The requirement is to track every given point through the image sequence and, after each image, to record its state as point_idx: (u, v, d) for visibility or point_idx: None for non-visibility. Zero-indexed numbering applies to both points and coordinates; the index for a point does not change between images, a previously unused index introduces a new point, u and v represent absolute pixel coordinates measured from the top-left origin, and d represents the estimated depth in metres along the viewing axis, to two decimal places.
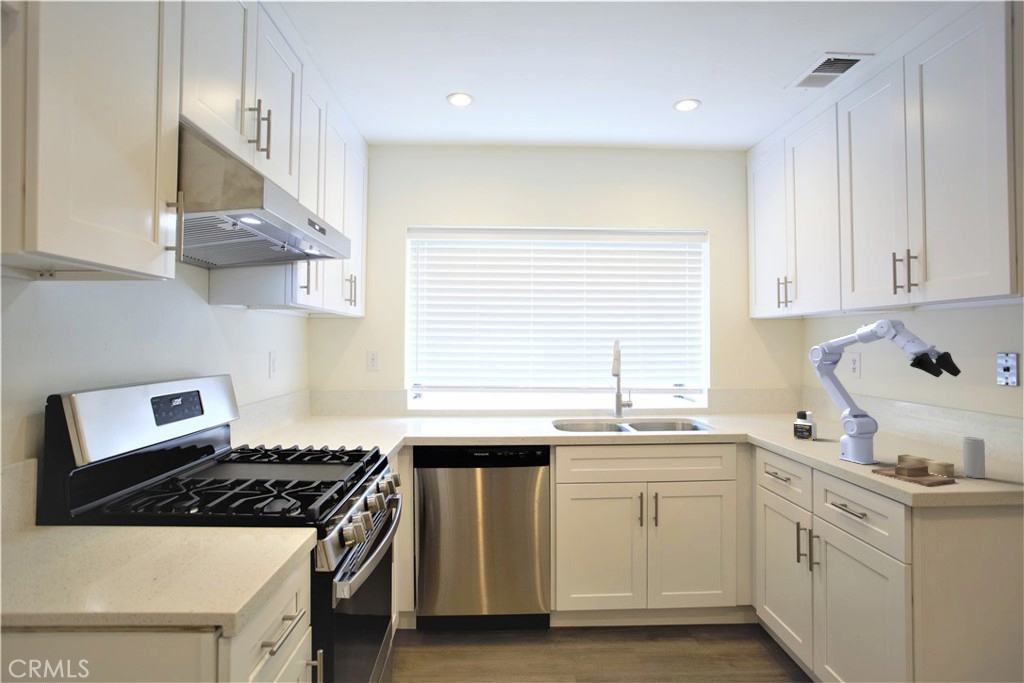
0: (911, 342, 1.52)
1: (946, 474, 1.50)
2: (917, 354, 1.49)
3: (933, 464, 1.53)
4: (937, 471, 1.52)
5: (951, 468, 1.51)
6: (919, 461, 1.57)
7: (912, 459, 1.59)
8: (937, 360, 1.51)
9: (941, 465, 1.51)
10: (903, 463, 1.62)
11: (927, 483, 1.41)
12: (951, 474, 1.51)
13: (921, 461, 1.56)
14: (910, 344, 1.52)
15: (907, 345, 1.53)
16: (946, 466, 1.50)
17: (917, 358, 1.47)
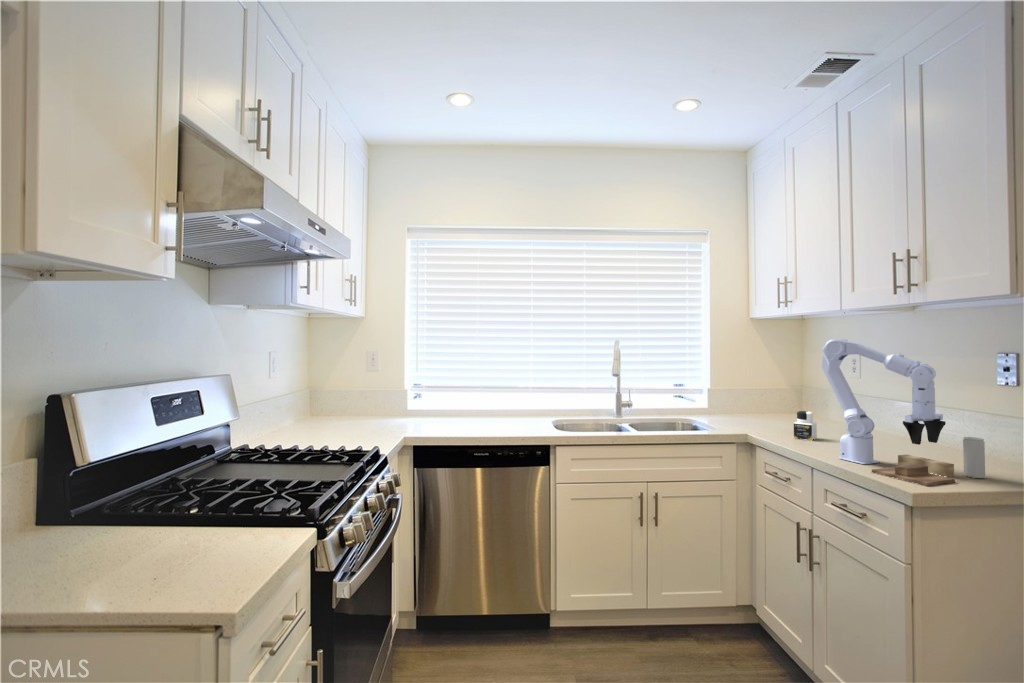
0: (924, 404, 1.55)
1: (946, 474, 1.50)
2: None
3: (933, 464, 1.53)
4: (937, 471, 1.52)
5: (951, 468, 1.51)
6: (919, 461, 1.57)
7: (912, 459, 1.59)
8: (930, 421, 1.59)
9: (941, 465, 1.51)
10: (903, 463, 1.62)
11: (927, 483, 1.41)
12: (951, 474, 1.51)
13: (921, 461, 1.56)
14: (921, 405, 1.56)
15: (918, 403, 1.56)
16: (946, 466, 1.50)
17: (912, 424, 1.55)
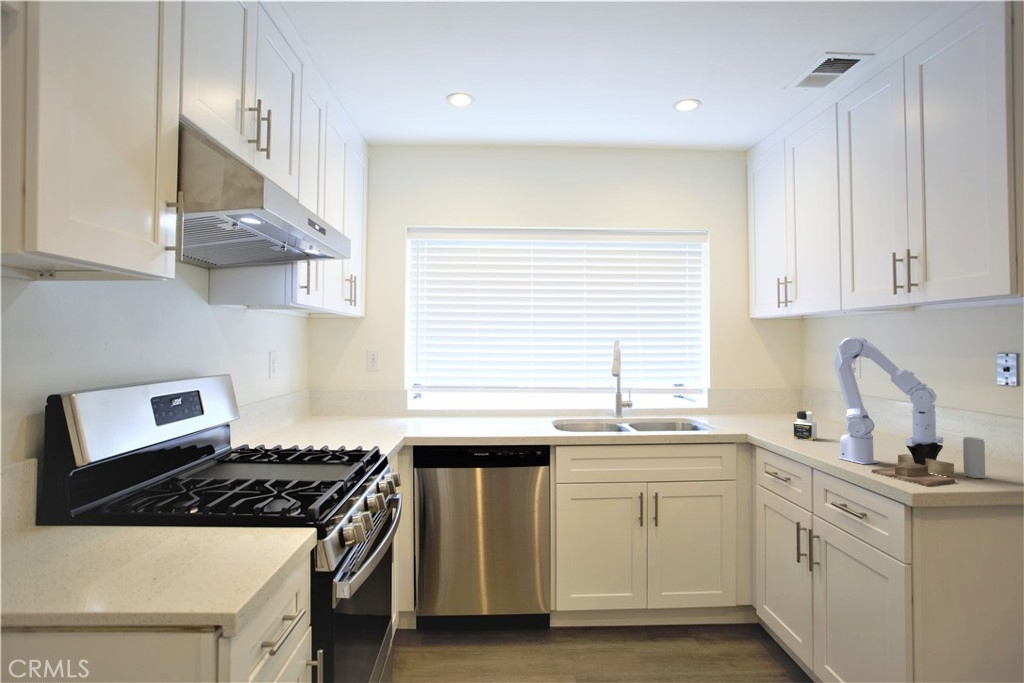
0: (924, 427, 1.55)
1: (946, 474, 1.50)
2: None
3: (933, 464, 1.53)
4: (937, 470, 1.52)
5: (951, 468, 1.51)
6: None
7: (912, 459, 1.59)
8: (927, 445, 1.58)
9: (941, 465, 1.51)
10: (903, 463, 1.62)
11: (927, 483, 1.41)
12: (951, 474, 1.51)
13: None
14: (922, 428, 1.56)
15: (919, 427, 1.56)
16: (946, 466, 1.50)
17: (916, 447, 1.55)
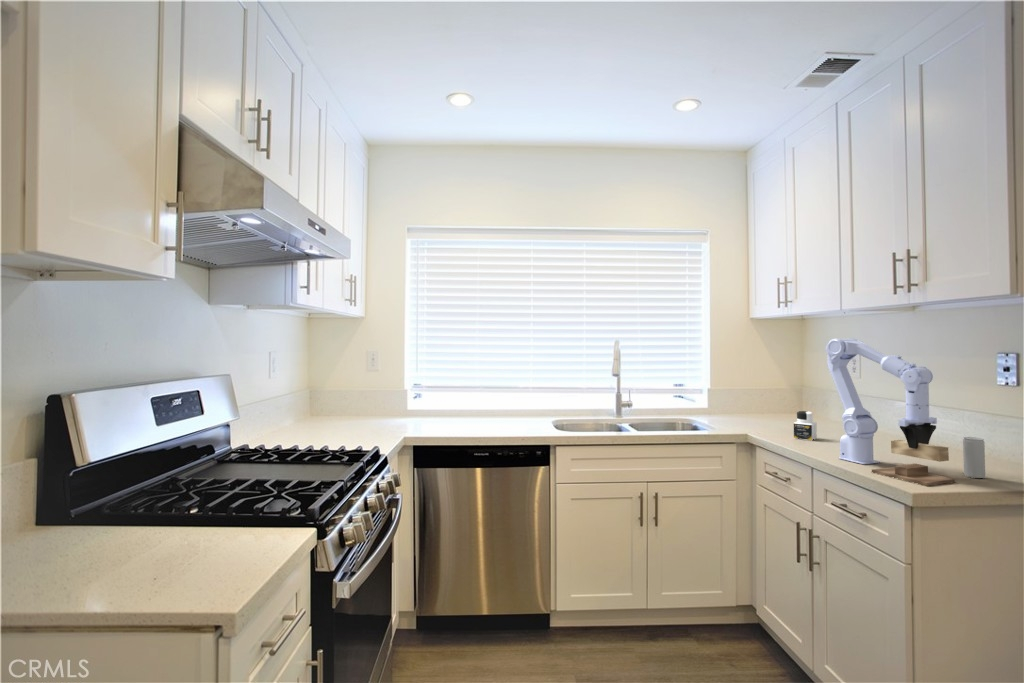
0: (917, 407, 1.52)
1: (941, 458, 1.46)
2: None
3: (927, 448, 1.49)
4: (931, 455, 1.48)
5: (946, 452, 1.47)
6: None
7: (906, 444, 1.55)
8: (920, 425, 1.55)
9: (936, 449, 1.47)
10: (896, 448, 1.58)
11: (927, 483, 1.41)
12: (946, 458, 1.47)
13: None
14: (915, 408, 1.52)
15: (912, 407, 1.53)
16: (941, 449, 1.47)
17: (909, 427, 1.52)
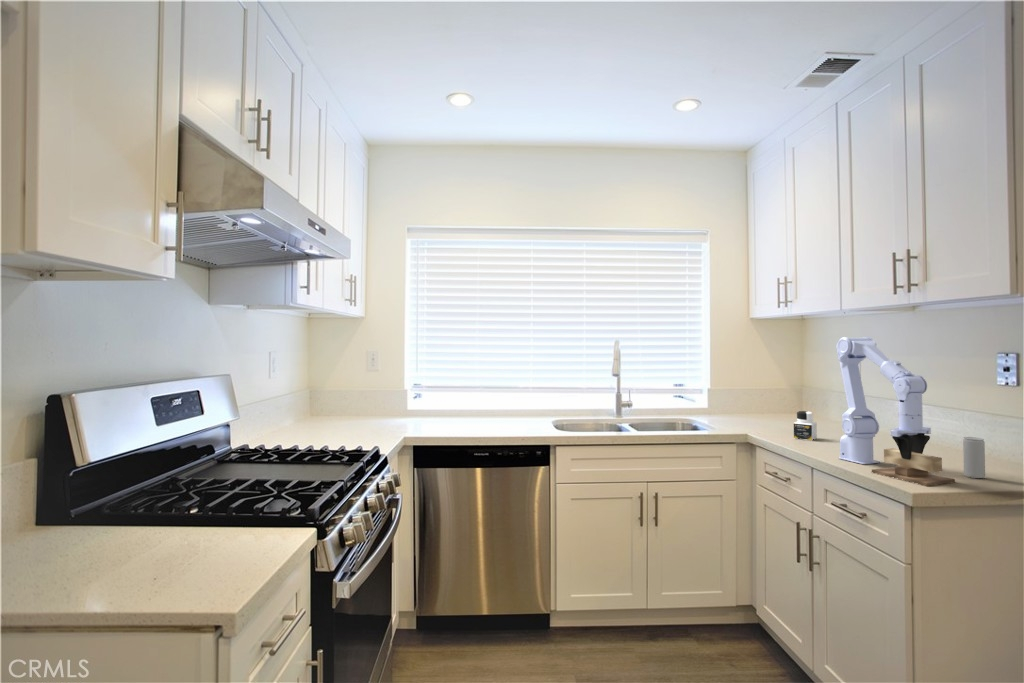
0: (910, 417, 1.48)
1: (934, 468, 1.43)
2: (903, 432, 1.48)
3: (920, 458, 1.46)
4: (924, 465, 1.45)
5: (939, 462, 1.44)
6: None
7: (898, 453, 1.52)
8: (914, 436, 1.51)
9: (929, 459, 1.44)
10: (889, 457, 1.54)
11: (927, 483, 1.41)
12: (939, 468, 1.44)
13: None
14: (908, 418, 1.48)
15: (905, 417, 1.49)
16: (934, 460, 1.43)
17: (902, 438, 1.48)
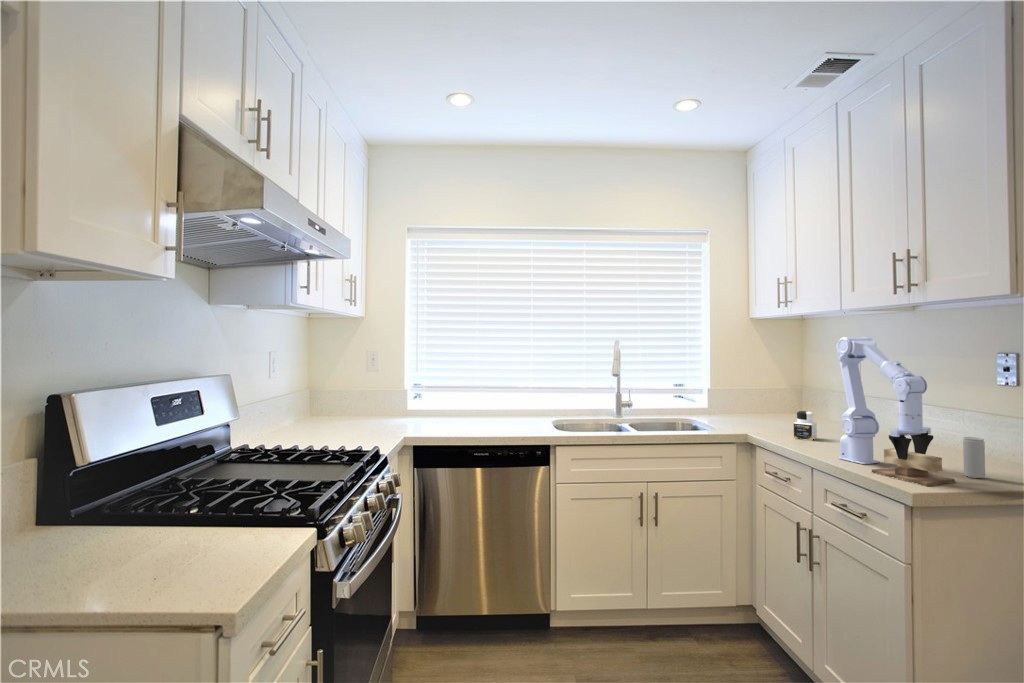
0: (910, 417, 1.48)
1: (934, 468, 1.43)
2: (903, 432, 1.48)
3: (920, 458, 1.46)
4: (924, 465, 1.45)
5: (939, 462, 1.44)
6: None
7: None
8: (917, 435, 1.52)
9: (929, 459, 1.44)
10: (889, 457, 1.54)
11: (927, 483, 1.41)
12: (939, 468, 1.44)
13: (908, 455, 1.49)
14: (908, 418, 1.48)
15: (905, 417, 1.49)
16: (934, 460, 1.43)
17: (898, 438, 1.48)
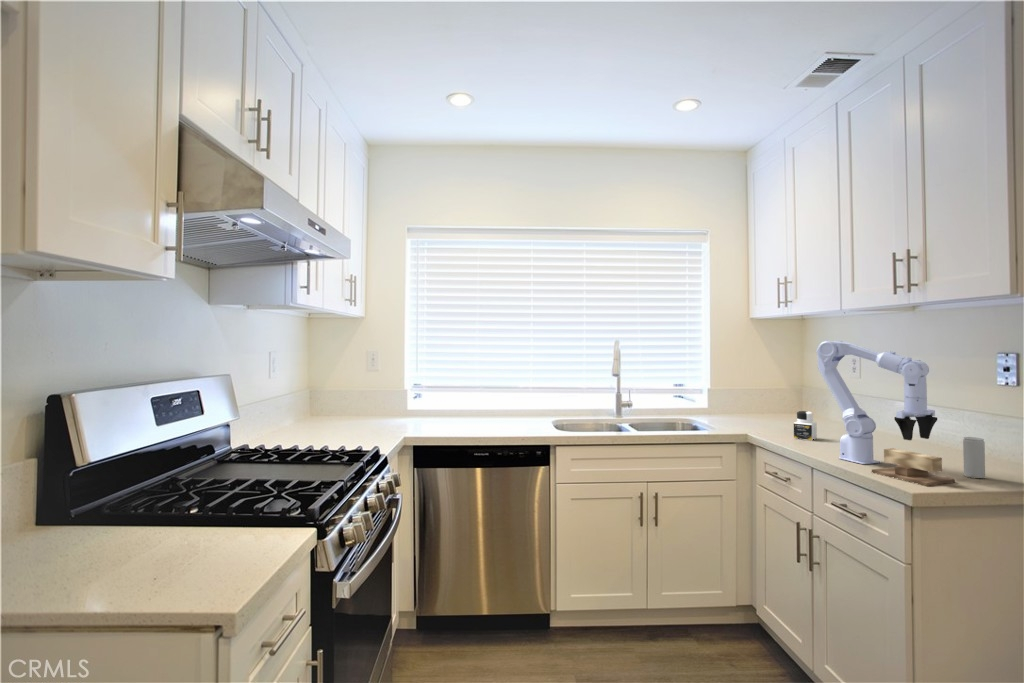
0: (915, 400, 1.55)
1: (934, 468, 1.43)
2: None
3: (920, 458, 1.46)
4: (924, 465, 1.45)
5: (939, 462, 1.44)
6: (906, 455, 1.50)
7: (899, 453, 1.52)
8: (922, 417, 1.59)
9: (929, 459, 1.44)
10: (889, 457, 1.54)
11: (927, 483, 1.41)
12: (939, 468, 1.44)
13: (908, 455, 1.49)
14: (913, 400, 1.56)
15: (910, 399, 1.56)
16: (934, 460, 1.43)
17: (904, 419, 1.55)
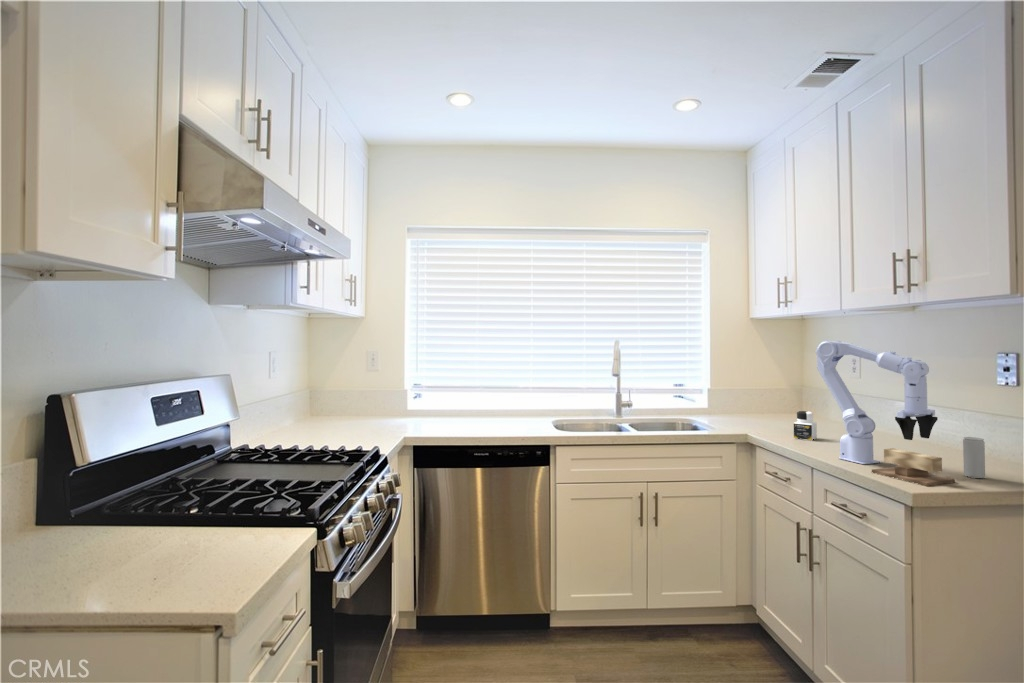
0: (916, 399, 1.56)
1: (934, 468, 1.43)
2: (909, 414, 1.56)
3: (920, 458, 1.46)
4: (924, 465, 1.45)
5: (939, 462, 1.44)
6: (906, 455, 1.50)
7: (899, 453, 1.52)
8: (922, 417, 1.59)
9: (929, 459, 1.44)
10: (889, 457, 1.54)
11: (927, 483, 1.41)
12: (939, 468, 1.44)
13: (908, 455, 1.49)
14: (913, 400, 1.56)
15: (910, 399, 1.57)
16: (934, 460, 1.43)
17: (904, 419, 1.55)
